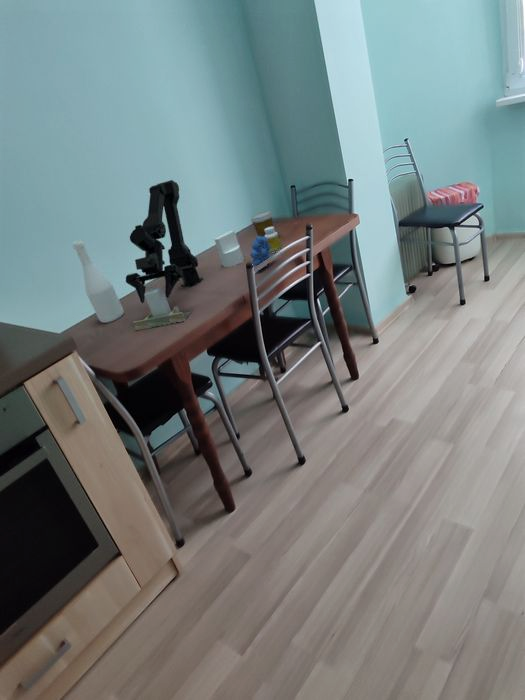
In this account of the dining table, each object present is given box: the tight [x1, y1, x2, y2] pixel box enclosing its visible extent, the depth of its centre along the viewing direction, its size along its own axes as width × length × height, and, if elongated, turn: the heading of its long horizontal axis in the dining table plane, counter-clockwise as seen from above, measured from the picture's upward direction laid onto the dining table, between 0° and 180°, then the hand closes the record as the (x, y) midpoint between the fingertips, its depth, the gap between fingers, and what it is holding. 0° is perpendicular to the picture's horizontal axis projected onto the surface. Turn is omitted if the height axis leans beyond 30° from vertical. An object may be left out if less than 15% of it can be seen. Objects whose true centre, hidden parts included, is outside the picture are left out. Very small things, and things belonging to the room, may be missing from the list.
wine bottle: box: [72, 239, 125, 324], centre depth 175 cm, size 10×10×30 cm
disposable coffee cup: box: [250, 210, 274, 237], centre depth 210 cm, size 10×10×12 cm
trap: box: [132, 305, 192, 331], centre depth 162 cm, size 7×18×3 cm, turn 79°
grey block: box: [144, 286, 172, 317], centre depth 161 cm, size 4×4×11 cm
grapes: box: [249, 235, 272, 271], centre depth 180 cm, size 12×7×12 cm, turn 144°
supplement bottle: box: [264, 226, 282, 255], centre depth 194 cm, size 5×5×10 cm
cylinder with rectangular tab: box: [214, 230, 245, 268], centre depth 196 cm, size 9×9×12 cm
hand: (154, 300), depth 159 cm, fingers open, 9 cm apart
